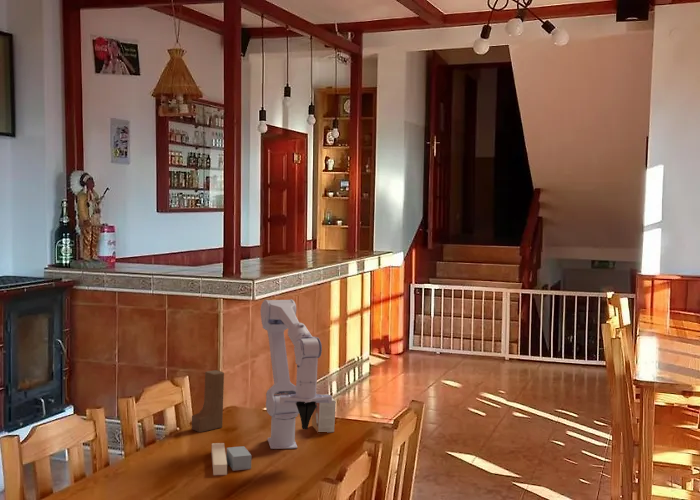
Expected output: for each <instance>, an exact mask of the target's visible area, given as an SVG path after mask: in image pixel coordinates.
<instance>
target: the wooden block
mask: <svg viewBox="0 0 700 500" xmlns="http://www.w3.org/2000/svg"><path fill="white" fill-rule="evenodd" d="M224 382H225V373H224V372H223V371H220V370H216V369H215V370H207V371H205V372H204V392H203V393H204V394H203V395H204V396H203V397H204V399H203V400H204V401H203V404H202V409H201V410H200V411H199V412H198V413H196V414H193V415H191V430H192V431H196V432H197V433H202V432H207V431H208V432H209V431H211V430H218V429H220V428H222V427H223V422H224V421H223V417H224V388H225V387H224V386H225V385H224V384H225V383H224Z"/></svg>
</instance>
